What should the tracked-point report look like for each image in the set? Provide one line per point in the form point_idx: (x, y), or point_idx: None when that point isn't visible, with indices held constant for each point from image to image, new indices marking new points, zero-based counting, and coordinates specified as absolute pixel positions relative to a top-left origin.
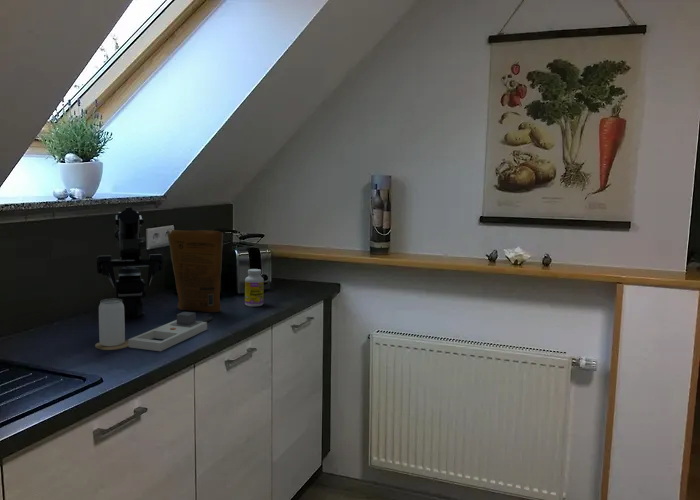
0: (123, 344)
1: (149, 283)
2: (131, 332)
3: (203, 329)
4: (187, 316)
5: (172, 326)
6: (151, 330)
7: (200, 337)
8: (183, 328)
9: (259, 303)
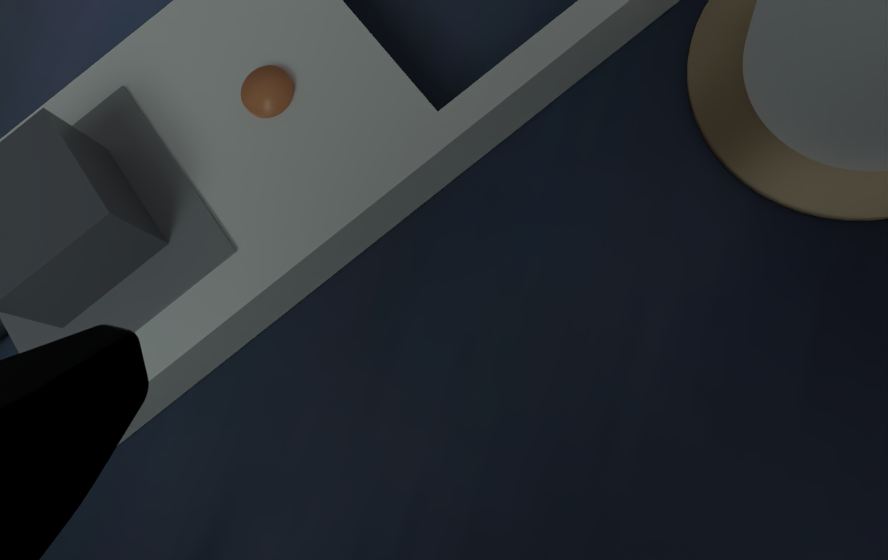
0: None
1: (69, 344)
2: (580, 448)
3: None
4: (54, 117)
5: (236, 183)
6: (454, 128)
7: (137, 14)
8: (186, 76)
9: None
